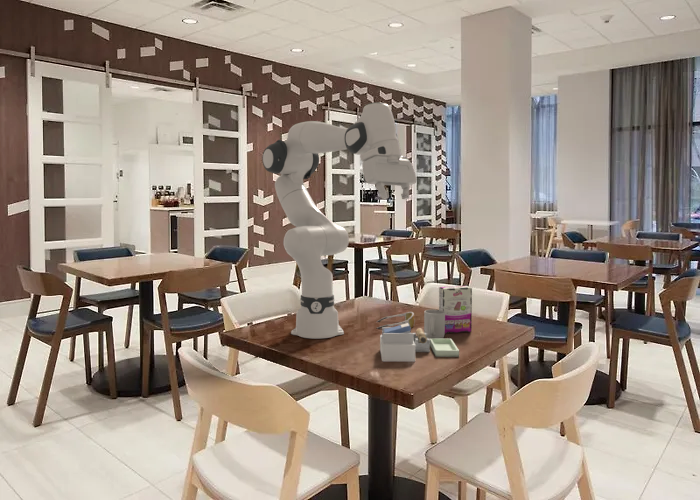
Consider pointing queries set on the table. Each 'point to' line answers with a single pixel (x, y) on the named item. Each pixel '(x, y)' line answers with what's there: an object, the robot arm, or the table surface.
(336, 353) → the table surface
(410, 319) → the sunglasses
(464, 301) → the candy bar box
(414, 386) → the table surface
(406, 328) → the blue box
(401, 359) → the grey card holder
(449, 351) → the tray
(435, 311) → the cup
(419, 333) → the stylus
